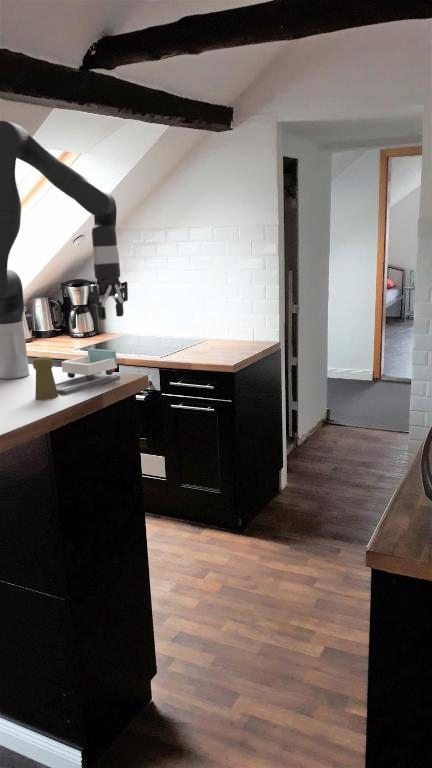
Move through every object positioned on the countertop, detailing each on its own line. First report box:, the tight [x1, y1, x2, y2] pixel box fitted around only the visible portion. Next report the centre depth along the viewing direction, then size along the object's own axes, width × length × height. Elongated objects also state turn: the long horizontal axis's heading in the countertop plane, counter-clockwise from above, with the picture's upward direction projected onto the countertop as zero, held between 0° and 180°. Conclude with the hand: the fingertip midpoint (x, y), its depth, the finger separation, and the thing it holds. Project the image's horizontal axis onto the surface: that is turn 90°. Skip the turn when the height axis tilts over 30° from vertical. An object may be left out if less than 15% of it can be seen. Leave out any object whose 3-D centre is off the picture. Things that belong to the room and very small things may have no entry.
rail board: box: [55, 372, 121, 396], centre depth 175 cm, size 10×21×1 cm, turn 144°
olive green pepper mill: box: [32, 356, 59, 401], centre depth 162 cm, size 6×6×11 cm
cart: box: [61, 348, 118, 381], centre depth 177 cm, size 11×11×7 cm
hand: (111, 317), depth 182 cm, fingers open, 6 cm apart
